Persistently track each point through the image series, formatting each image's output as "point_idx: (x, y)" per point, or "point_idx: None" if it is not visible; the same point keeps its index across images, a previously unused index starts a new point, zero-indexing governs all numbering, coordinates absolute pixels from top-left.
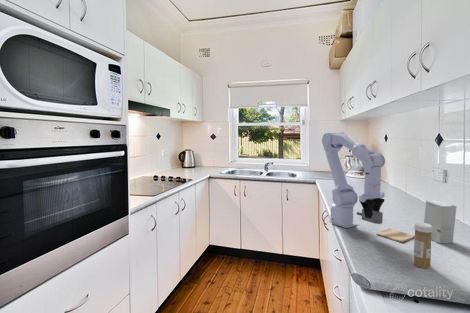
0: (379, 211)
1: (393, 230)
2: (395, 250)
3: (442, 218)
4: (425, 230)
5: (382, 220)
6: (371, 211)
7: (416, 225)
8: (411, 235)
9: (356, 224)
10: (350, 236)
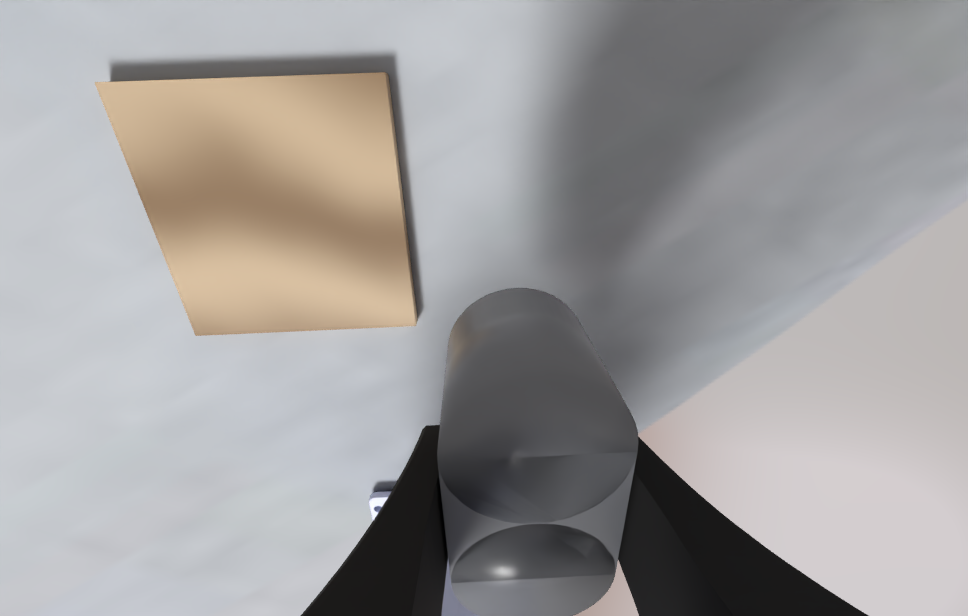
0: (440, 464)
1: (200, 289)
2: (629, 2)
3: None
4: None
5: (481, 314)
6: (690, 500)
7: None
8: (127, 111)
9: (383, 495)
10: (622, 392)
